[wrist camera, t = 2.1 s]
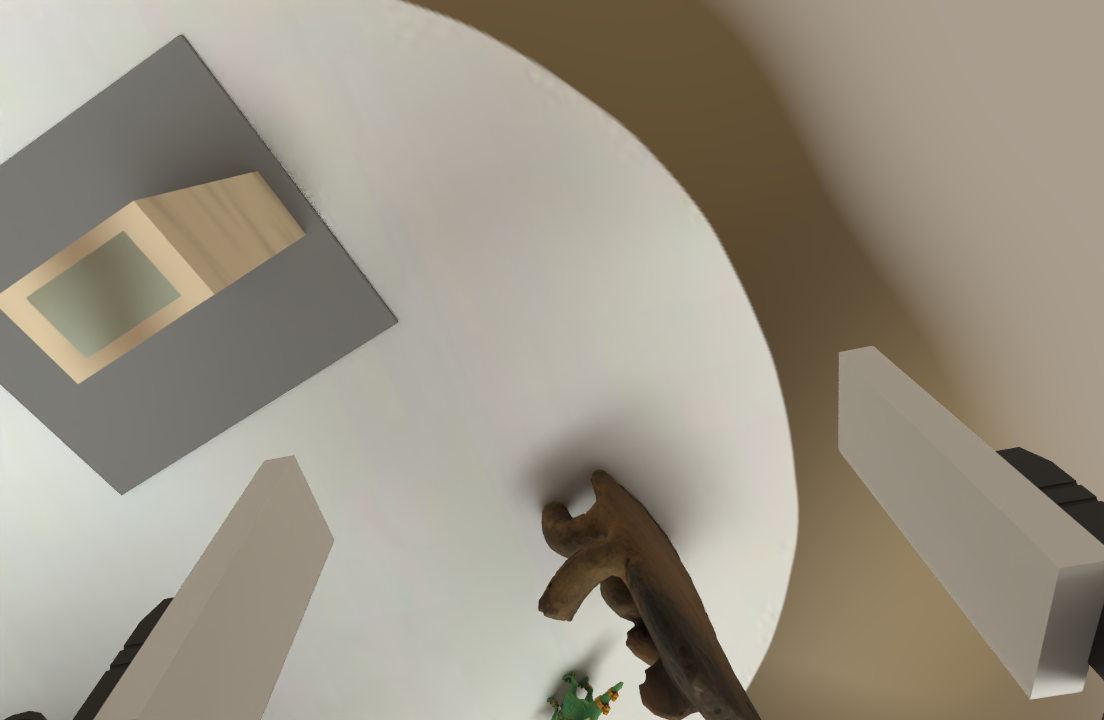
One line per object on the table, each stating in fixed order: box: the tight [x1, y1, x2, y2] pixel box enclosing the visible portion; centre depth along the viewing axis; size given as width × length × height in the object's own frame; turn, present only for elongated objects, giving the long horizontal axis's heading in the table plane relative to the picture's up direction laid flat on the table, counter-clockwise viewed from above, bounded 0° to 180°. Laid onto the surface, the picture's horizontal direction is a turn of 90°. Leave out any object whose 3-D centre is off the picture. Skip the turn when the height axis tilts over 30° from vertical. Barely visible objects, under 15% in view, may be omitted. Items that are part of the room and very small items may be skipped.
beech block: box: [0, 171, 306, 384], centre depth 32 cm, size 8×4×14 cm, turn 121°
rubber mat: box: [0, 35, 398, 495], centre depth 40 cm, size 24×20×1 cm
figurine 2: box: [538, 470, 761, 720], centre depth 41 cm, size 13×8×20 cm, turn 41°
